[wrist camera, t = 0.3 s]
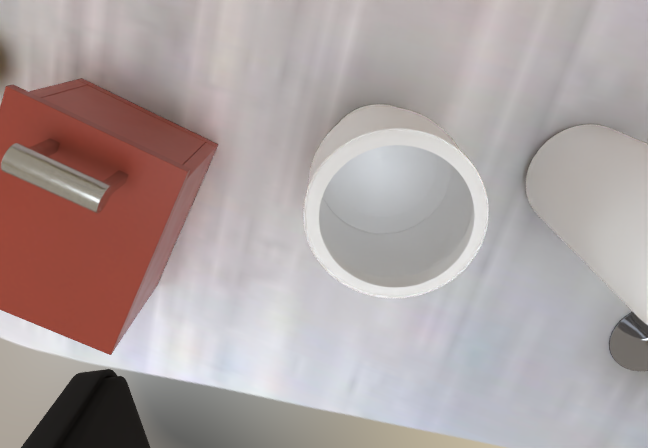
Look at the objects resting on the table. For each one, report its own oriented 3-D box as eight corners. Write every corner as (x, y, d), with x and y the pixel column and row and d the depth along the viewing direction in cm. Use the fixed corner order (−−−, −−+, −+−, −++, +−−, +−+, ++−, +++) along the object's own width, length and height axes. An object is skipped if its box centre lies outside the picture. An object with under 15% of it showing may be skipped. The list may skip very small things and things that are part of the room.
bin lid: (13, 84, 33) (-48, 97, 28) (191, 168, 35) (165, 196, 29) (-42, 284, 38) (-102, 326, 33) (114, 348, 40) (81, 399, 35)
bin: (81, 77, 42) (10, 95, 33) (218, 144, 44) (186, 178, 35) (32, 231, 47) (-42, 284, 38) (157, 285, 49) (115, 348, 40)
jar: (295, 185, 45) (276, 262, 31) (344, 68, 42) (346, 96, 28) (408, 231, 47) (438, 324, 33) (465, 121, 43) (526, 174, 29)
